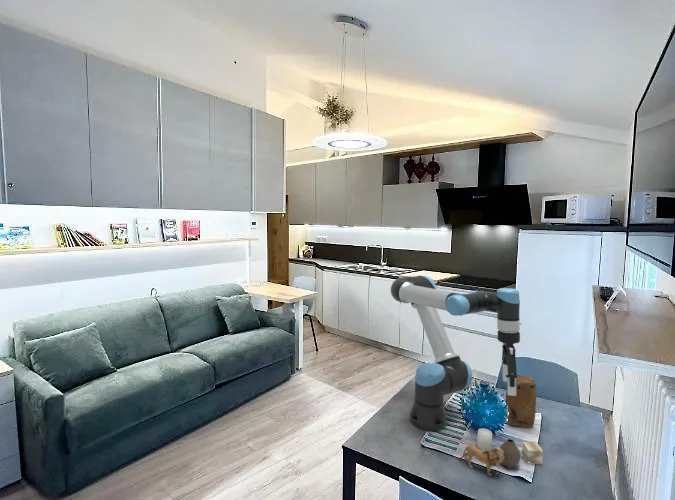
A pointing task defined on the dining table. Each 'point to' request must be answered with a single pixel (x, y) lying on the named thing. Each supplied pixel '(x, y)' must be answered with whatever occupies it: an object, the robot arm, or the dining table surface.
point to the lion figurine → (484, 456)
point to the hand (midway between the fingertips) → (509, 387)
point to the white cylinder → (484, 439)
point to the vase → (510, 453)
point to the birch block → (532, 452)
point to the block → (522, 402)
